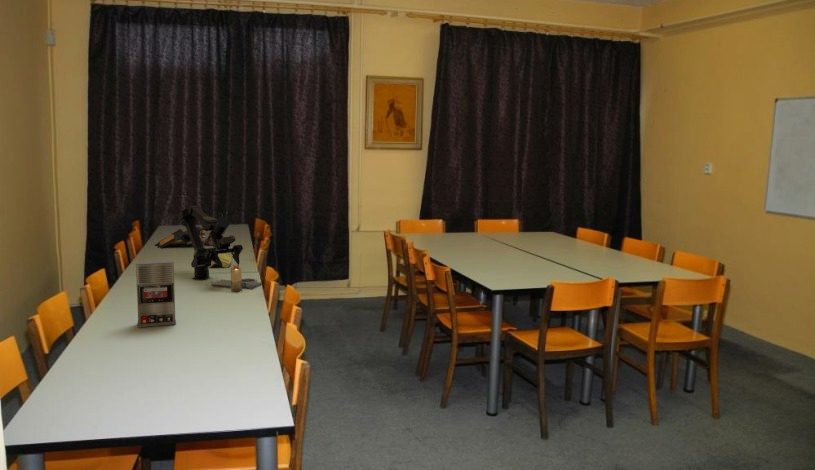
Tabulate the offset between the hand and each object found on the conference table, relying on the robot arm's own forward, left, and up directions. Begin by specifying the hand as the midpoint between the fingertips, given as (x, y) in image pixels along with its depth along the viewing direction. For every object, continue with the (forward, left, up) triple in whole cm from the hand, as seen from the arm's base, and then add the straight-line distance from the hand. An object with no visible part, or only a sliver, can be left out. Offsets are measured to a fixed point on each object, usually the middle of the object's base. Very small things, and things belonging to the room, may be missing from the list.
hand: (230, 265), depth 308 cm
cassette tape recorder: (0, -62, -12) cm, 63 cm away
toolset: (-86, +103, -12) cm, 135 cm away
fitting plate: (-1, +7, -12) cm, 14 cm away
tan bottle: (+4, -3, -12) cm, 13 cm away
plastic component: (-32, +50, -12) cm, 61 cm away
